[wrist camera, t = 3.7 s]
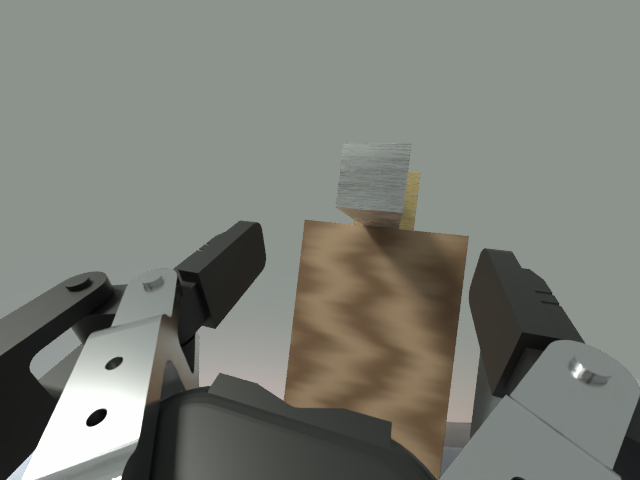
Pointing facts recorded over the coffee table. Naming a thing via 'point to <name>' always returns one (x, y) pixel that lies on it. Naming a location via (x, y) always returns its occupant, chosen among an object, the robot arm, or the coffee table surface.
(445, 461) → the coffee table surface
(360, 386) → the tall stand
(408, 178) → the wood and metal block
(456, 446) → the coffee table surface
